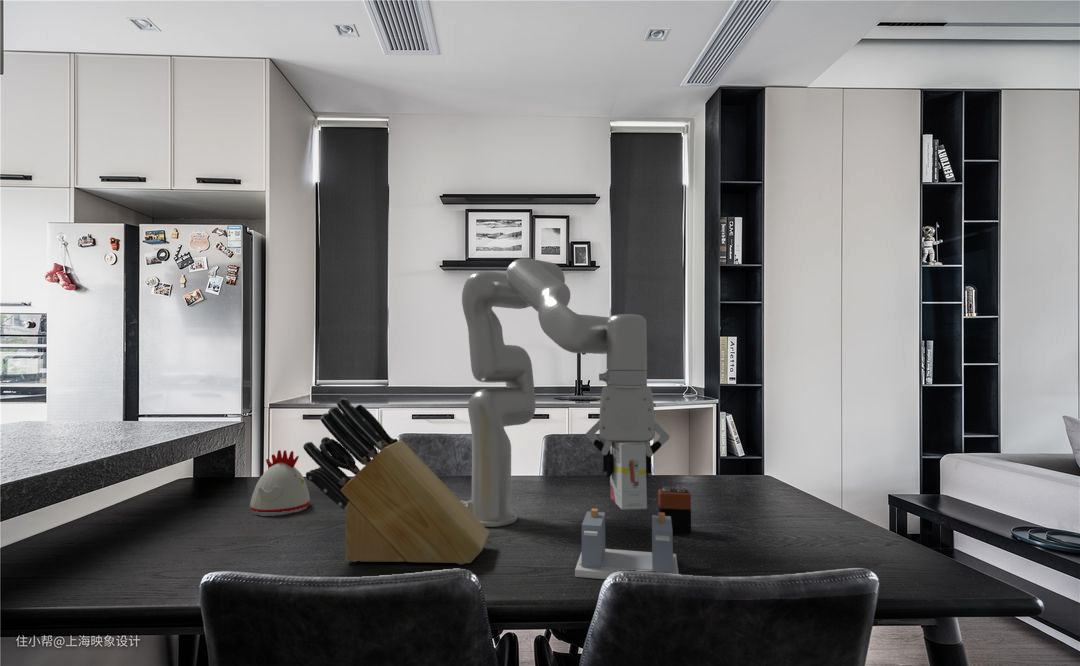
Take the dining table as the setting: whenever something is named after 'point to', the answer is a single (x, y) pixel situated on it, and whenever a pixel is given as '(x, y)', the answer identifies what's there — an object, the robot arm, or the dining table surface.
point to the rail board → (607, 561)
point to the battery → (676, 508)
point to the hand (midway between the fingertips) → (627, 475)
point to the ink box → (628, 475)
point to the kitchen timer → (280, 486)
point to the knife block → (390, 495)
